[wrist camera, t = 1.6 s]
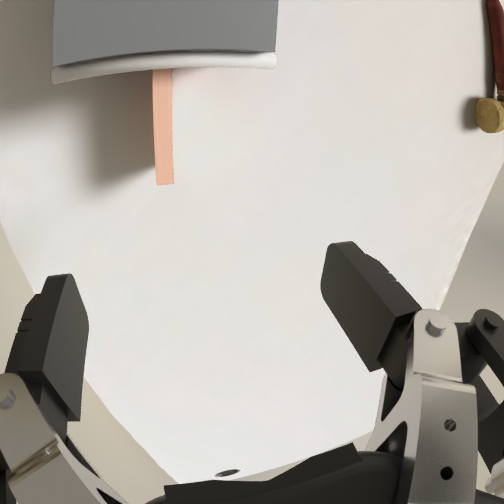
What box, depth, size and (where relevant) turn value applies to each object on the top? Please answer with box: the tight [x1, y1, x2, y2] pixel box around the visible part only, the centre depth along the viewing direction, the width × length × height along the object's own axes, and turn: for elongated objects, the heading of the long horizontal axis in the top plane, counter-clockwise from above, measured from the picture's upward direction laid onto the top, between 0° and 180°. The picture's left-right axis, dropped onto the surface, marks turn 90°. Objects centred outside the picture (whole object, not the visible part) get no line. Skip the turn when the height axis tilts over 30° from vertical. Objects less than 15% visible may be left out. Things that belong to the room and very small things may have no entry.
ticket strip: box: [153, 52, 174, 185], centre depth 16 cm, size 23×1×5 cm, turn 177°
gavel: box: [475, 0, 504, 133], centre depth 24 cm, size 21×5×10 cm
